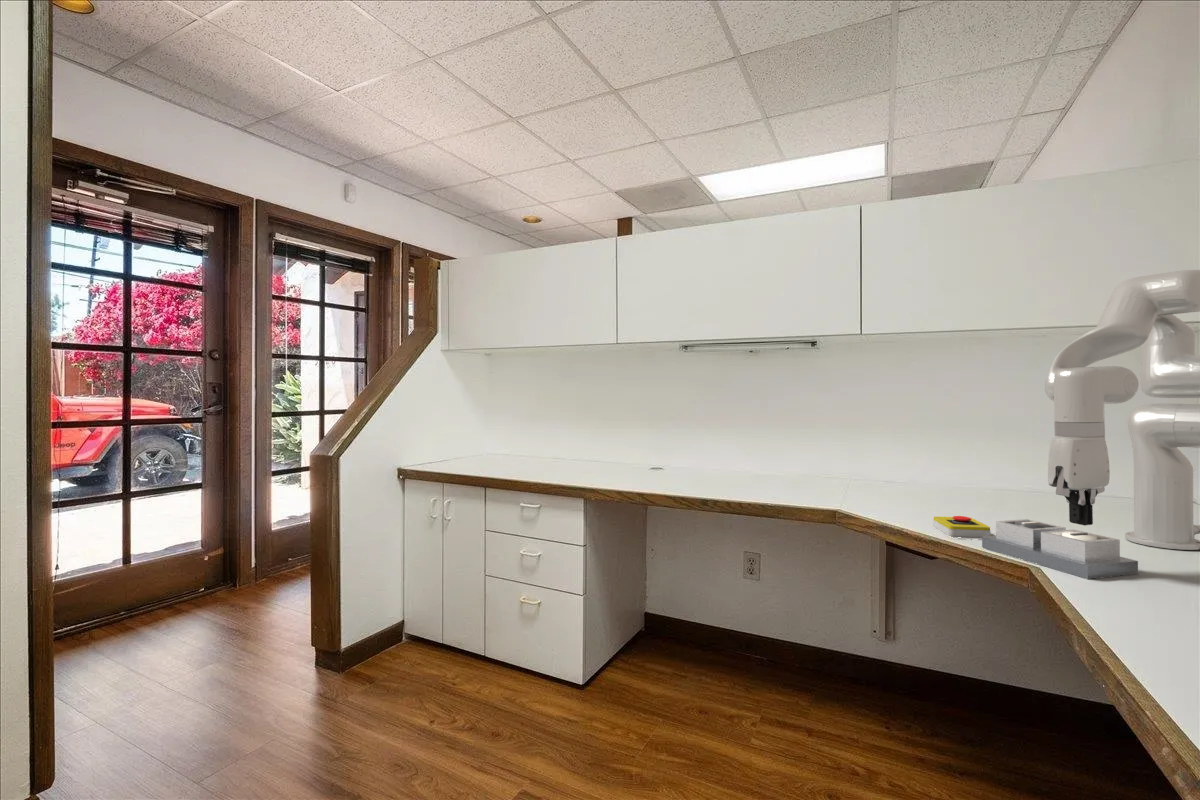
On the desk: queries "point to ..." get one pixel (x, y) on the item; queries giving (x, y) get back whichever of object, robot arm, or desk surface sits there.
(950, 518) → the emergency button
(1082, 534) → the knob ivory
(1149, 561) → the desk surface
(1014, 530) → the mount
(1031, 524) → the knob black
